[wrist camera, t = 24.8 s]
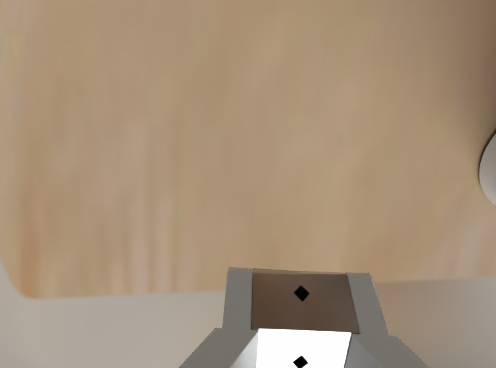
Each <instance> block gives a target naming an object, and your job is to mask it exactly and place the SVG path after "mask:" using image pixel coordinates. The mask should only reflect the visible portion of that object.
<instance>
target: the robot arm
mask: <svg viewBox="0 0 496 368" xmlns="http://www.w3.org/2000/svg"><path fill="white" fill-rule="evenodd" d="M479 178H480V184H481V187H482V190H483V192H484V194H485V195H486V197H487V198H488V199H489V200H490V201H491V202H492V203H493V204H494V205H496V134H495V135H494V137H493V138H492V139H491V141H490V142H489V144H488V146H487V147H486V150H485V152H484V154H483V157H482V160H481V164H480V170H479ZM179 368H430V367H429V366H428V365H427V364H426V363H424V362H423V361H422V360H421V359H420V358H419V357H418V356H417V355H416V354H415V353H414V352H413V351H412V350H411V349H410V348H409V347H408V346H406V345H405V344H404V343H403V342H402V341H401V340H400V339H399V338H398V337H397V336H389V334H388V331H387V327H386V324H385V320H384V317H383V314H382V311H381V307H380V303H379V300H378V297H377V293H376V290H375V286H374V283H373V279H372V276H371V275H370V274H369V273H348V272H345V273H342V272H313V271H287V270H272V269H257V268H253V274H252V269H248V268H235V267H229V269H228V273H227V283H226V294H225V305H224V316H223V327H222V328H215V329H214V330H213V331H212V332H211V333H210V334H209V335H208V337H207V338H206V339H205V340H204V341H203V342H202V343H201V344H200V345H199V346H198V348H197V349H196V350H195V351H194V352H193V353H192V354H191V355H190V356H189V357H188V358H187V359H186V361H185V362H184V363H183V364H182V365H181V366H180V367H179Z"/></svg>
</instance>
